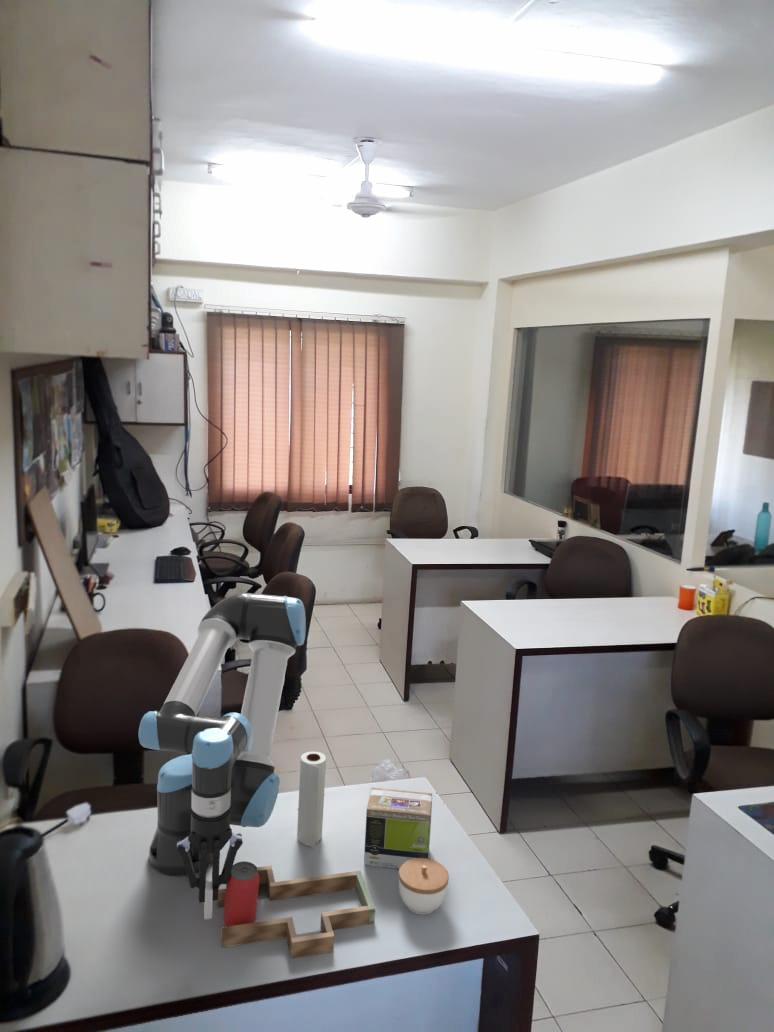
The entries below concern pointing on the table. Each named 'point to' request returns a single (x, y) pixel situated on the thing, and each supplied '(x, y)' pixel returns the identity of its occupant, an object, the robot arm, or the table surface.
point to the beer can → (241, 894)
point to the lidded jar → (422, 884)
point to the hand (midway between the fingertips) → (207, 914)
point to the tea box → (397, 827)
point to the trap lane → (285, 926)
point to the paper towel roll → (311, 797)
